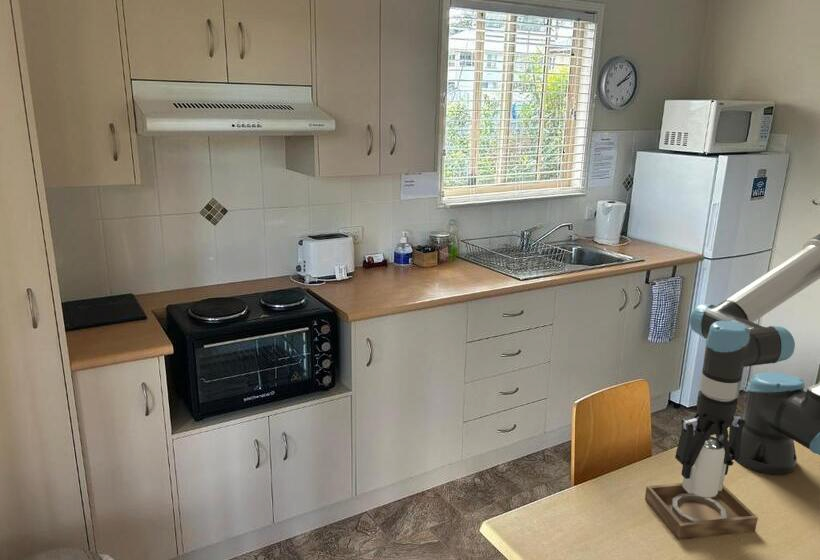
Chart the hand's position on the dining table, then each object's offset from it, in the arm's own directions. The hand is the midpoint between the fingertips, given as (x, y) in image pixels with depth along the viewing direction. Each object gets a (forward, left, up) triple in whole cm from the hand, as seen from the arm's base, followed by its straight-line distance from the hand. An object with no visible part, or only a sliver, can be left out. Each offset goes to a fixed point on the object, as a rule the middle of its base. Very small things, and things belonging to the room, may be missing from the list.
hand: (701, 488), depth 141 cm
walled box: (0, 0, -7) cm, 7 cm away
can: (0, 0, -1) cm, 1 cm away
